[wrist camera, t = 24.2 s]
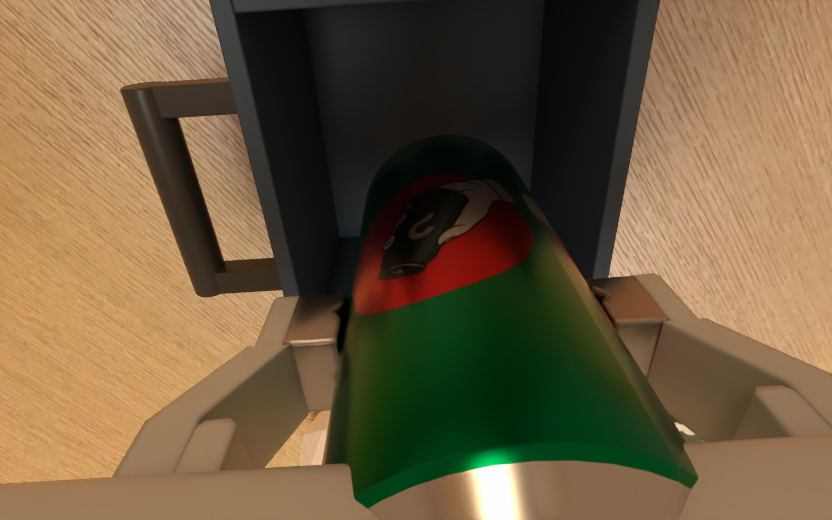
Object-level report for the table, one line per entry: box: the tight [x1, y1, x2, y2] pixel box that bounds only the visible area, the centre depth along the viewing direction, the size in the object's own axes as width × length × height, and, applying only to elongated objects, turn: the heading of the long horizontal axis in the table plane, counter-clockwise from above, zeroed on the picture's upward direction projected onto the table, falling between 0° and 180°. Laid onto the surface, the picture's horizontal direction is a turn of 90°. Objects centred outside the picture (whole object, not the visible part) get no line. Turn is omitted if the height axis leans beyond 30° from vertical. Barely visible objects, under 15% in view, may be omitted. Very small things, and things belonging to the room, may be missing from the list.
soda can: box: [322, 135, 698, 520], centre depth 10 cm, size 5×5×12 cm
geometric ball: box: [299, 410, 331, 466], centre depth 31 cm, size 8×8×8 cm
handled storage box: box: [120, 0, 660, 299], centre depth 19 cm, size 16×13×10 cm
